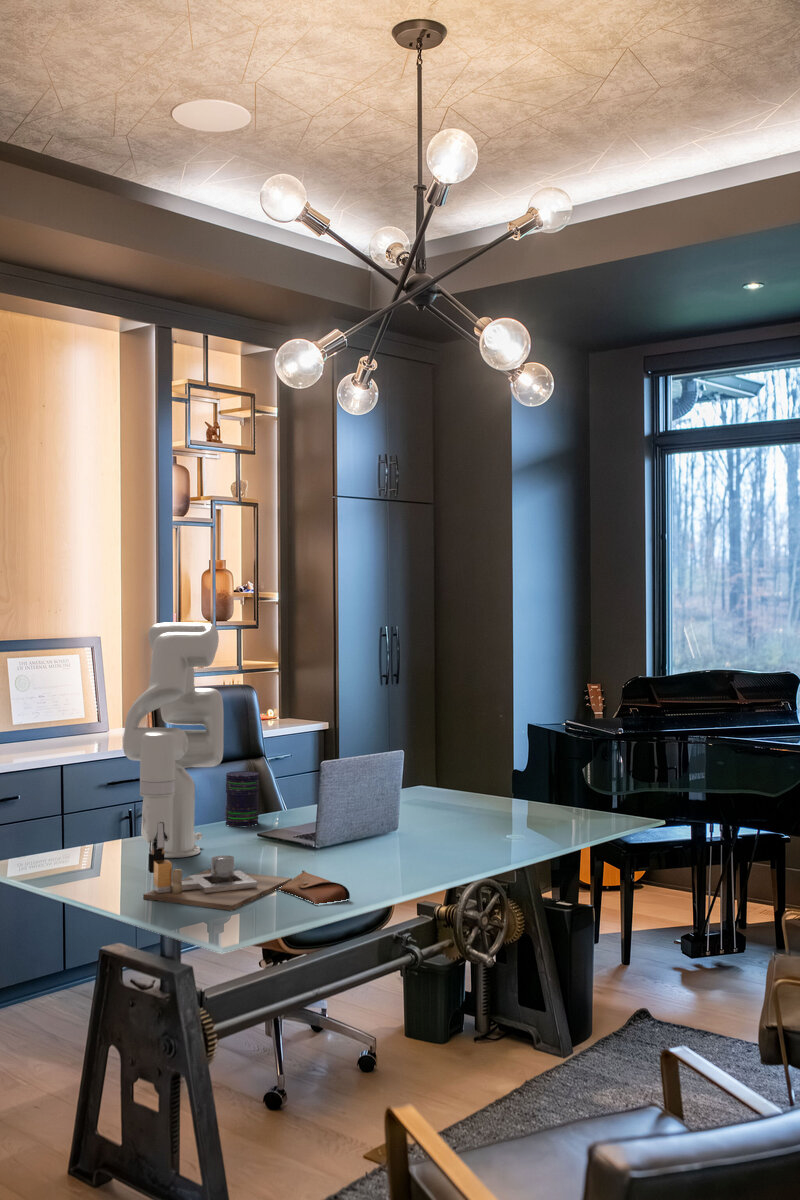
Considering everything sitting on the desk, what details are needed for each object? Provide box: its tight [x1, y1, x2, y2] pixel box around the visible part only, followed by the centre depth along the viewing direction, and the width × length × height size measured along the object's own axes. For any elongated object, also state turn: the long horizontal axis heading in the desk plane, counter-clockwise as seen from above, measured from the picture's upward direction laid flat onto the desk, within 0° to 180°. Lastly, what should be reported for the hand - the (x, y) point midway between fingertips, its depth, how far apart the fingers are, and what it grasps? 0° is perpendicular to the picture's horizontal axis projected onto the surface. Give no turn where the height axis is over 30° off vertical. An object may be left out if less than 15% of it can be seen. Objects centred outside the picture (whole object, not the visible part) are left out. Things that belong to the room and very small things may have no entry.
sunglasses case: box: [277, 869, 351, 904], centre depth 232 cm, size 18×7×7 cm
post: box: [210, 855, 235, 884], centre depth 236 cm, size 5×5×6 cm
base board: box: [142, 868, 293, 911], centre depth 235 cm, size 26×22×1 cm
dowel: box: [172, 868, 183, 894], centre depth 229 cm, size 2×2×5 cm
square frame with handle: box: [153, 859, 257, 893], centre depth 234 cm, size 21×12×6 cm, turn 117°
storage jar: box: [224, 770, 260, 827], centre depth 314 cm, size 10×10×15 cm
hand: (156, 871), depth 234 cm, fingers closed
